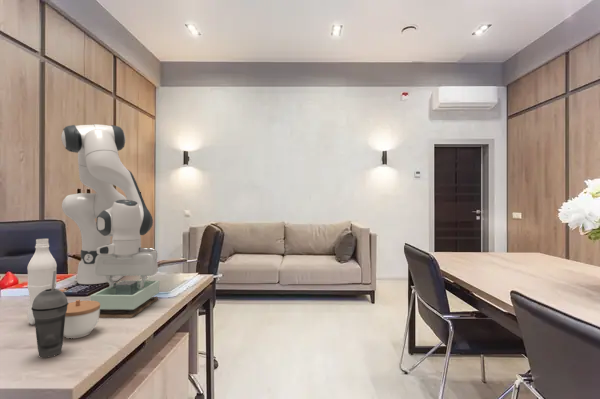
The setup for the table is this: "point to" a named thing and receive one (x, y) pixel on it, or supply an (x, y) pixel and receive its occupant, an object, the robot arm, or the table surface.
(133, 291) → the metal block
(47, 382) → the table surface
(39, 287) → the water bottle
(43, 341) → the beverage cup
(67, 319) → the lidded jar
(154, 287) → the mint green tray
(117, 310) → the track
